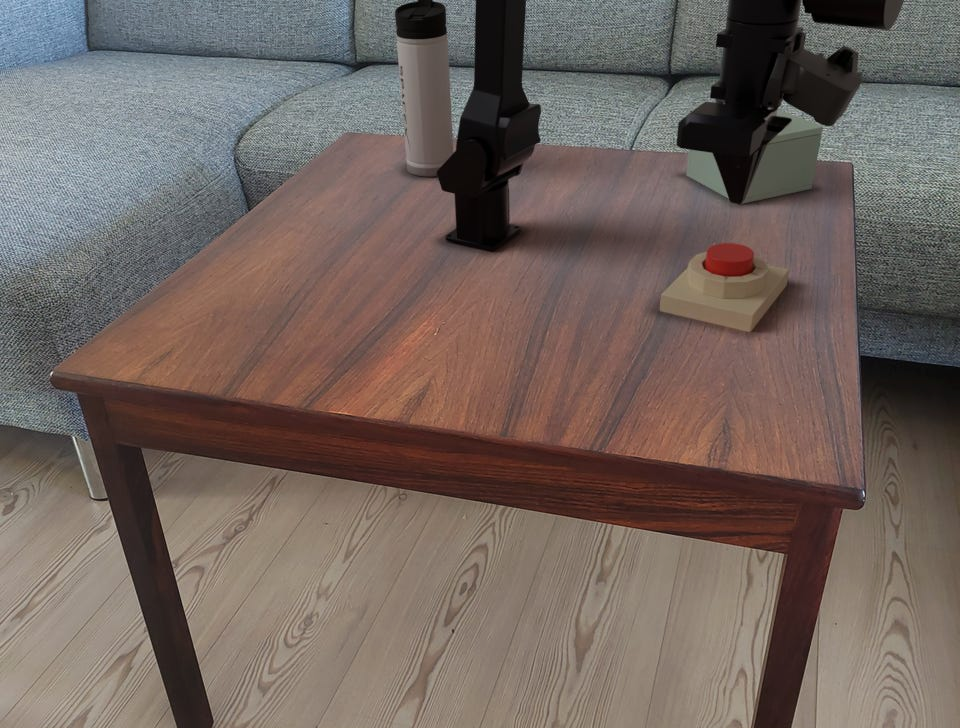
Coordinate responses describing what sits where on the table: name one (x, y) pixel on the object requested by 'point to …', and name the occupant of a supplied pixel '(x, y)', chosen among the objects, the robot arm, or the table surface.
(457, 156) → the robot arm
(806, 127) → the lid
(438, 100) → the travel mug
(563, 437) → the table surface
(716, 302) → the control block
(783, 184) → the green lidded box
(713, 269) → the power button
